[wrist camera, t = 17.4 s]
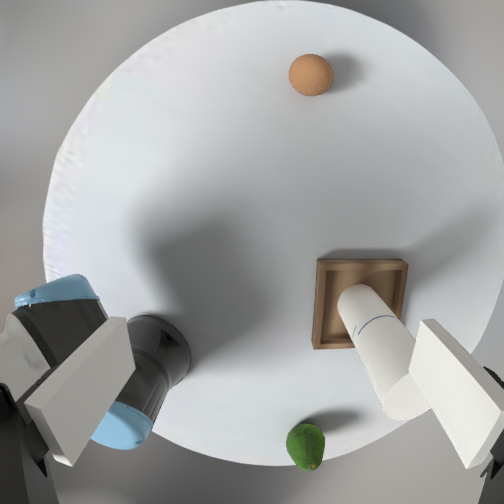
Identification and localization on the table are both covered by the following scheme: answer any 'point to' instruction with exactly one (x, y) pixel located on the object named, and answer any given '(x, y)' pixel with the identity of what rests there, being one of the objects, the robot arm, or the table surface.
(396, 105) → the table surface
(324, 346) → the tray
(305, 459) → the avocado
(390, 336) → the cylindrical container
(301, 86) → the egg
